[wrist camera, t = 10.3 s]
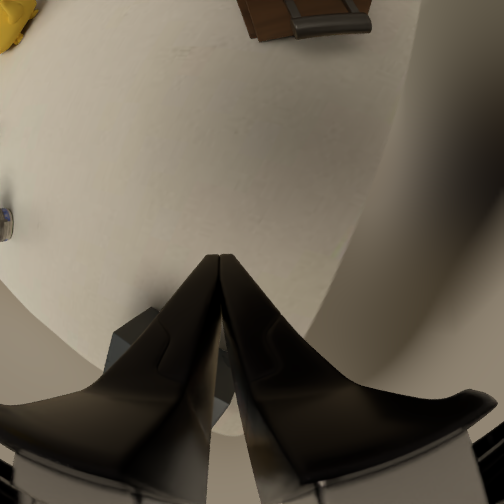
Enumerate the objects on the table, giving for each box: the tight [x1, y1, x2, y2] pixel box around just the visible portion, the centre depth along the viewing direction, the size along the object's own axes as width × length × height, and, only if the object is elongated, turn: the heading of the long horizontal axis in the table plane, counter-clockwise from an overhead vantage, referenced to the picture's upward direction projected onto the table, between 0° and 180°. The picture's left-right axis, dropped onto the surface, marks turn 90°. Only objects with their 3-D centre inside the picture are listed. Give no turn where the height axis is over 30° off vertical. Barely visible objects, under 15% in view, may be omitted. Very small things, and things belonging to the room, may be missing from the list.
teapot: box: [0, 0, 39, 54], centre depth 16 cm, size 14×20×13 cm
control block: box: [103, 307, 235, 429], centre depth 20 cm, size 10×7×8 cm
